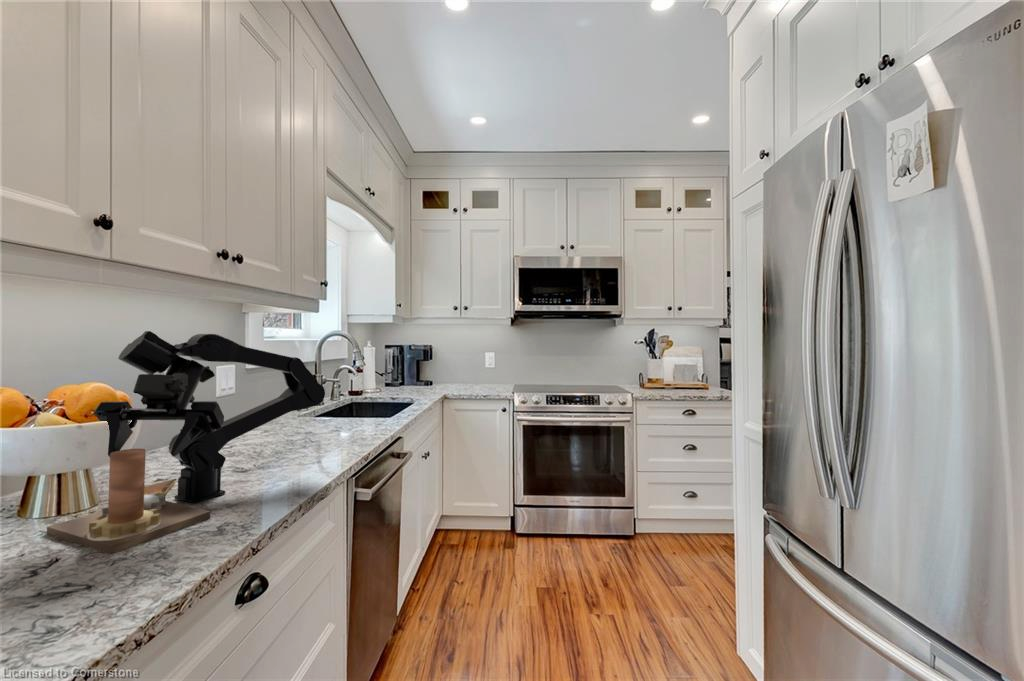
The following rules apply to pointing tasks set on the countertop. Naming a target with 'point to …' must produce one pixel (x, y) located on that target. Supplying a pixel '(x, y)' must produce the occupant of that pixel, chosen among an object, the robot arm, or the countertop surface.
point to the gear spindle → (125, 497)
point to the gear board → (170, 520)
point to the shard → (159, 488)
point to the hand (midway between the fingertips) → (141, 455)
